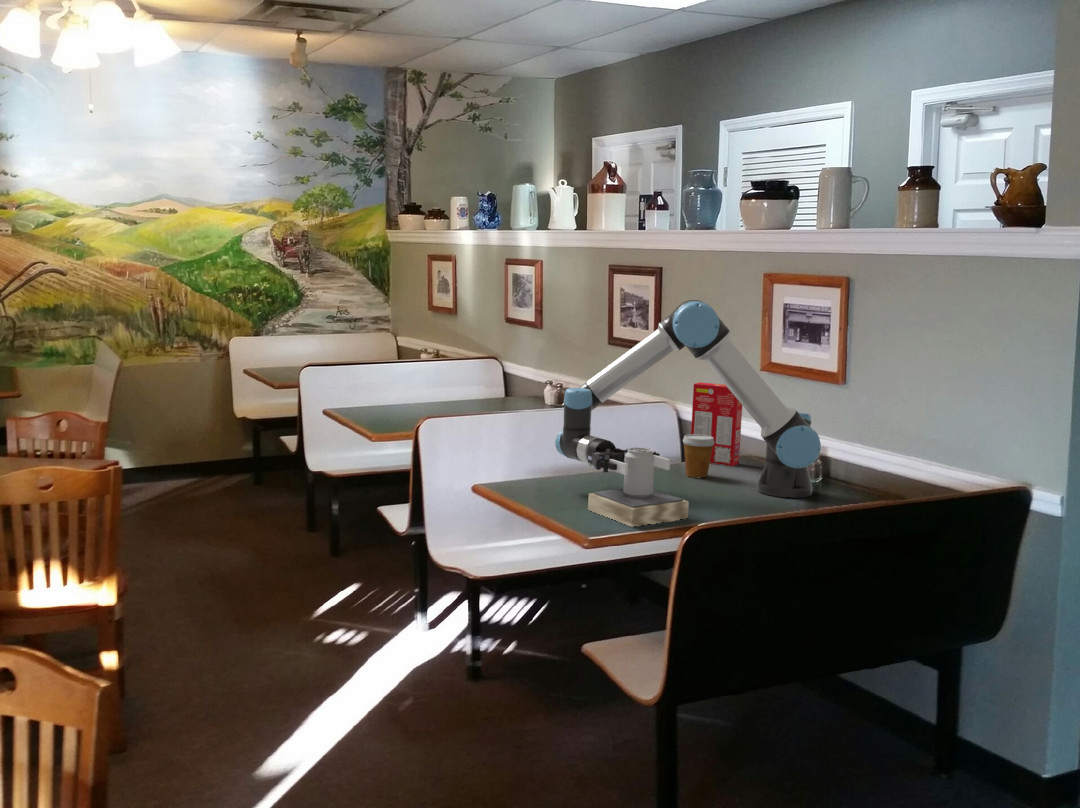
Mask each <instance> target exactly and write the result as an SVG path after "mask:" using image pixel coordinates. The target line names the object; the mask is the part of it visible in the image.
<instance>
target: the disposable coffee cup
mask: <svg viewBox="0 0 1080 808" xmlns="http://www.w3.org/2000/svg"><path fill="white" fill-rule="evenodd" d="M682 442H683V450H684V463H685V464H684V465H685V476H686V475H687V476H686V477H688V476H690V477H689V478H691V477H706V476H707V477H708V474H709V467H710V464H711V463H710V458H711V453H712V447H713V445H714V443H715V442H714V439H713V437H712V436H708V435H699V434H691V433H690V434H685V435H684V436H683V439H682ZM707 477H706V478H707Z"/></svg>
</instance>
